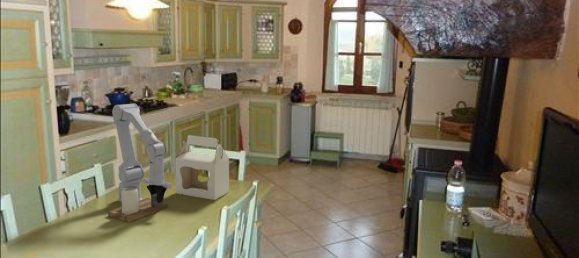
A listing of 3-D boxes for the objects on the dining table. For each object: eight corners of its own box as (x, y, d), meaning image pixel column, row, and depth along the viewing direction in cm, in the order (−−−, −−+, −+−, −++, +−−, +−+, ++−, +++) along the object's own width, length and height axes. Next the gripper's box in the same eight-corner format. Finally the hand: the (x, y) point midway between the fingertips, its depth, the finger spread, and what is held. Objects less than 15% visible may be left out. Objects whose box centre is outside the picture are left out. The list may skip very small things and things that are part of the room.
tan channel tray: (108, 216, 184) (107, 199, 183) (147, 201, 202) (147, 187, 201) (128, 222, 178) (128, 205, 177) (167, 207, 196) (167, 192, 195)
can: (132, 219, 182) (131, 191, 180) (118, 217, 184) (117, 189, 182) (141, 214, 188) (141, 186, 186) (128, 212, 190) (127, 184, 188)
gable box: (229, 192, 220) (229, 136, 215) (215, 200, 208) (215, 141, 203) (190, 186, 228) (190, 132, 223) (175, 193, 216) (174, 136, 211)
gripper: (137, 170, 190) (138, 200, 192) (162, 175, 183) (162, 207, 185) (150, 166, 196) (150, 196, 198) (174, 172, 189) (175, 202, 191)
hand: (157, 201), depth 192 cm, fingers closed on tan channel tray, 2 cm apart
